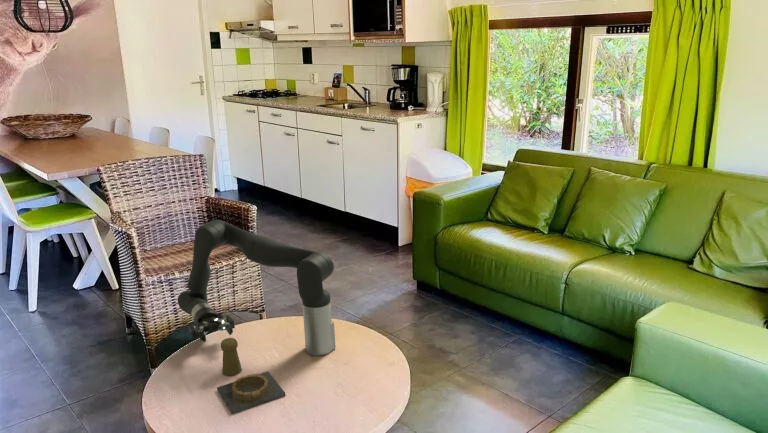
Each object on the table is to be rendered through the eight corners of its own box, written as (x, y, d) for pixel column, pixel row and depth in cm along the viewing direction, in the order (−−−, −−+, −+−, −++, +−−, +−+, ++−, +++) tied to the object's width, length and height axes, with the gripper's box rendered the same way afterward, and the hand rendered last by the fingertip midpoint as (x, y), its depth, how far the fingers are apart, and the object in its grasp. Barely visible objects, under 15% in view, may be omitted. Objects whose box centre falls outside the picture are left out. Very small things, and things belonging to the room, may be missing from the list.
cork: (236, 377, 179) (233, 345, 176) (218, 375, 180) (214, 344, 177) (245, 367, 184) (241, 336, 181) (227, 365, 186) (224, 334, 182)
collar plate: (268, 374, 180) (267, 365, 179) (285, 395, 169) (284, 386, 168) (217, 390, 172) (216, 381, 171) (231, 414, 161) (230, 405, 160)
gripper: (182, 312, 199) (194, 331, 186) (223, 302, 206) (238, 319, 193) (185, 331, 201) (197, 351, 188) (225, 321, 208) (240, 339, 195)
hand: (217, 335), depth 190 cm, fingers open, 8 cm apart
